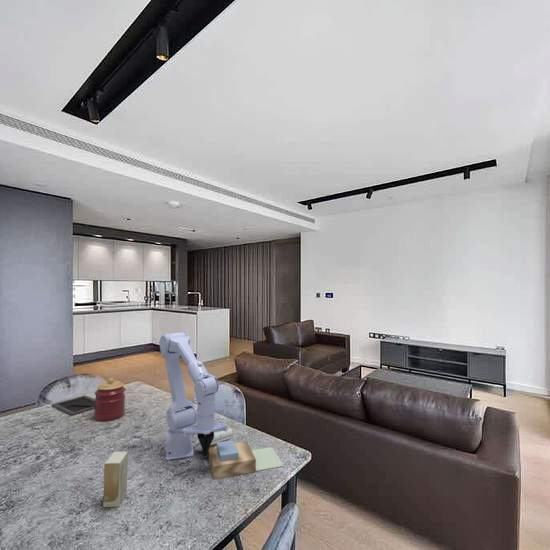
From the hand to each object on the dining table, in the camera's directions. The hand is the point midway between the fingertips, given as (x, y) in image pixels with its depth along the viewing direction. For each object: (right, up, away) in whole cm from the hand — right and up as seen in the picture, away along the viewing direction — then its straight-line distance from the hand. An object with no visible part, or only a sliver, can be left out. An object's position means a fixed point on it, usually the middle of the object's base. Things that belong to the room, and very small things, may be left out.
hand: (205, 454), depth 106 cm
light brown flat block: (+8, -5, +3) cm, 10 cm away
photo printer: (+5, -1, +16) cm, 17 cm away
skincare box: (-22, -4, -16) cm, 28 cm away
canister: (-54, -6, +42) cm, 69 cm away
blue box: (+7, -1, +2) cm, 8 cm away
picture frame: (-76, -7, +53) cm, 93 cm away
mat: (+20, -5, +6) cm, 22 cm away
